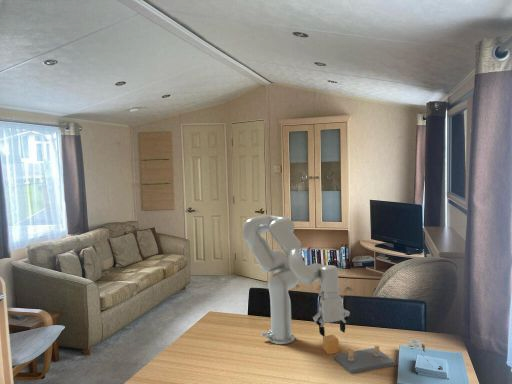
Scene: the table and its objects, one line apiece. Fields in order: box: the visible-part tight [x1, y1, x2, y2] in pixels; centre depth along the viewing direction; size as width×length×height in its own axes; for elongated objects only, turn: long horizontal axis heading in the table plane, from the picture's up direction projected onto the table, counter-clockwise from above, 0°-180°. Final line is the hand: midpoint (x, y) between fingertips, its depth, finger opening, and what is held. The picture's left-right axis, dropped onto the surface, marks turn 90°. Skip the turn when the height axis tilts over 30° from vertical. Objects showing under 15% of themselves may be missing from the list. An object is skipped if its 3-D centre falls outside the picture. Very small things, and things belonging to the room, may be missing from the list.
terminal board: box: [333, 344, 397, 374], centre depth 167 cm, size 20×14×6 cm
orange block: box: [322, 334, 340, 355], centre depth 178 cm, size 5×5×6 cm
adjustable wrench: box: [407, 339, 424, 349], centre depth 172 cm, size 25×6×2 cm, turn 177°
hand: (332, 333), depth 177 cm, fingers open, 9 cm apart
